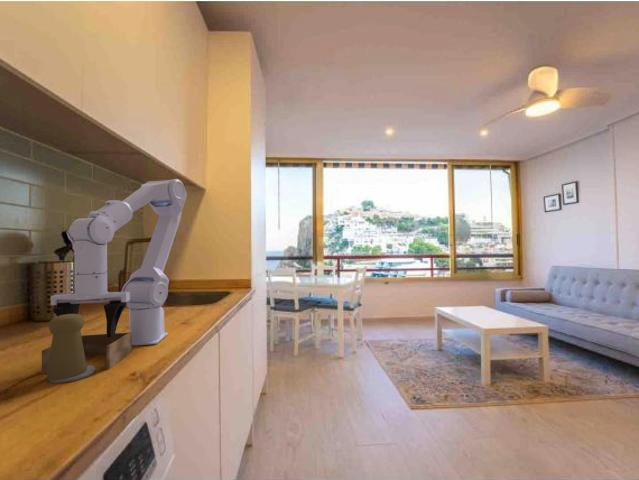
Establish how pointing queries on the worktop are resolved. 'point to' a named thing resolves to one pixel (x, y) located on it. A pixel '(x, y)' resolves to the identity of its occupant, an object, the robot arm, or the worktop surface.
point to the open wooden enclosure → (100, 348)
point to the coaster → (87, 373)
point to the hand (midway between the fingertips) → (91, 337)
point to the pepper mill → (66, 347)
